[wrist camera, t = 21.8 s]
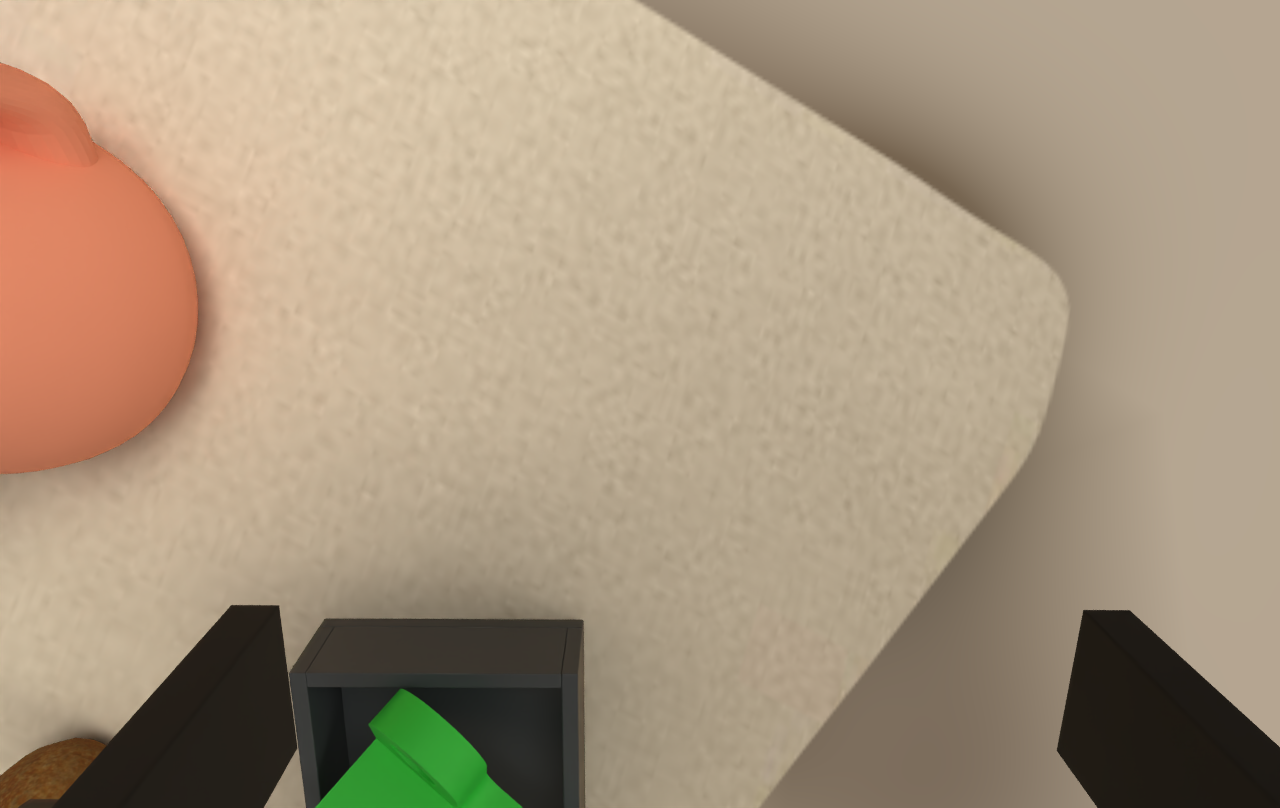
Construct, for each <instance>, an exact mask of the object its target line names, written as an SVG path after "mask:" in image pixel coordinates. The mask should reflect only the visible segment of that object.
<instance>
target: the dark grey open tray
mask: <svg viewBox="0 0 1280 808" xmlns="http://www.w3.org/2000/svg"><path fill="white" fill-rule="evenodd" d="M289 677H290V685H291V693H292V701H293V709H294V716H295V724H296V732H297V740H298V748H299V755H300V763H301V771H302V779H303V787H304V794H305V802H306V808H315V807H316V806H317V805H318V804H319V803H320V802H321V800H322V799H323V798H324V797H325V796H326V795H327V794H328V792H329V791H330V790H331V789H332V788H333V787H334V786H335V785H336V783H337V782H338V781H339V780H340V779H341V778H342V777H343V775H344V774H345V773H346V772H347V771H348V770H349V769H350V768H351V766H352V765H353V764H354V763H355V762H356V761H357V760H358V759H359V757H360V756H361V755H362V754H363V753H364V752H365V751H366V749H367V748H368V747H369V746H370V745H371V744H372V743H373V742H374V740H375V739H376V737H375V735H374V734H373V732H372V730H371V728H370V727H369V725H368V724H369V723H370V722H371V721H372V720H373V719H374V717H375V716H376V715H377V714H378V713H379V712H380V711H381V710H382V709H383V707H384V706H385V705H386V704H387V703H388V702H389V701H390V700H391V699H392V697H393V696H394V695H395V694H396V693H397V692H398V691H399V690H400V689H404V690H406V691H408V692H410V693H411V694H413V695H414V696H416V697H417V698H419V699H420V700H421V701H423V702H424V703H425V704H427V705H428V706H429V707H430V708H432V709H433V710H434V711H435V712H436V713H438V714H439V715H440V716H441V717H442V718H443V719H445V720H446V721H447V722H448V723H449V724H450V725H451V726H452V727H453V728H454V729H456V730H457V731H458V732H459V733H460V734H461V735H462V736H463V737H464V738H465V739H466V740H467V741H468V742H469V743H470V744H471V745H472V746H473V748H474V749H475V750H476V751H477V752H478V753H479V754H480V756H481V757H482V758H483V759H484V761H485V763H486V765H487V774H488V776H489V777H490V778H491V779H492V780H493V781H494V782H495V783H496V784H497V785H498V786H499V787H500V788H501V789H502V790H503V791H504V792H505V793H507V794H508V795H509V796H510V797H511V798H512V799H513V800H515V801H516V802H517V803H518V804H519V805H520V806H522V807H523V808H585V735H584V621H583V620H481V619H324V621H323V622H322V624H321V626H320V627H319V628H318V630H317V631H316V633H315V634H314V636H313V637H312V639H311V640H310V642H309V644H308V645H307V647H306V648H305V650H304V651H303V653H302V654H301V656H300V657H299V659H298V660H297V662H296V663H295V665H294V666H293V668H292V669H291V671H290V672H289Z"/></svg>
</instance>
